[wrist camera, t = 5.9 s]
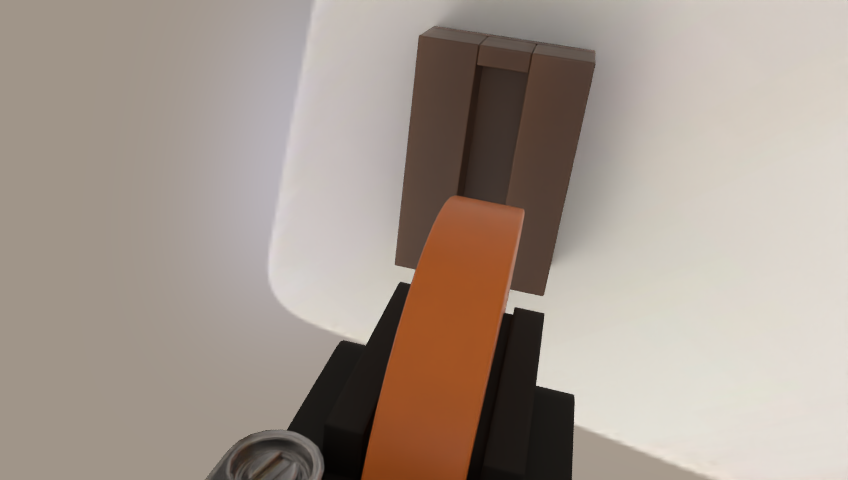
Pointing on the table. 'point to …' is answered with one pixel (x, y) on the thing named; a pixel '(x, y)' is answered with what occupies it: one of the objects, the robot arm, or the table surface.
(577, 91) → the holder
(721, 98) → the table surface
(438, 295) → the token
